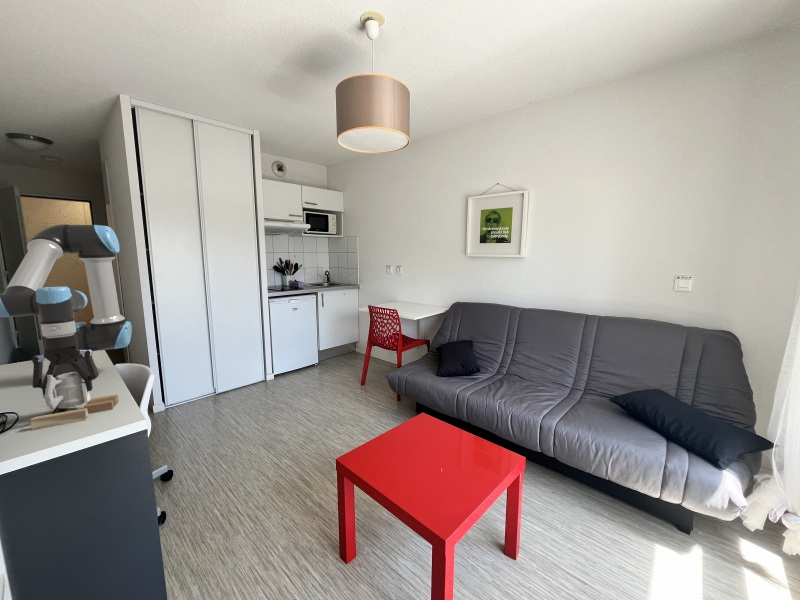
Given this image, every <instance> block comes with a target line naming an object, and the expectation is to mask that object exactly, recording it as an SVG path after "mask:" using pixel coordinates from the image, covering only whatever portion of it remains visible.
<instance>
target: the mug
mask: <svg viewBox="0 0 800 600" xmlns="http://www.w3.org/2000/svg"><path fill="white" fill-rule="evenodd" d="M47 378H48V380H47V385H46V389H45V395H44V397H43V398H44V402H45V404H46V406H47V407H48V408H49V407H50V408H49V409H51V410H55V409H56V408H58V409H68V408H72V407H73V408H74V407H78V406H82V405H83V404H86V402H84V396H83V389H82V383H83V382H84V380H83V379H82V378H81V376H80V375H79V374H78V373H77V372H71V373H65V374H61V375H59V376H57V377H55V378H54V377H53V376H52V375H47ZM53 389H54V390H55V391H56V393H55V394H56V397H55V398H54V397H53Z"/></svg>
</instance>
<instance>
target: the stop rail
mask: <svg viewBox="0 0 800 600" xmlns="http://www.w3.org/2000/svg"><path fill="white" fill-rule="evenodd" d="M88 418H89V414H88V411H87V408H84V407H83V408H80V409H73V410H68V411H63V412H62V411H61V412H55V413H51V414H47V415H46V414H45V415H40V416H35V417H32V418H31V419H30V420H29V421H30V426H31V430H38V429H42V428H48V427H55V426H60V425H64V424H65V425H66V424H70V423H71V424H72V423H76V422H80V421H86V420H87V419H88Z"/></svg>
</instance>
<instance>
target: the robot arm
mask: <svg viewBox="0 0 800 600" xmlns="http://www.w3.org/2000/svg"><path fill="white" fill-rule="evenodd" d="M26 249H27V253H26V254H25V256H24V257H23V258H22V261H21V262H20V264H19V266H18V267H17V269H16V270H15V273H14V274H13V276H12V278H11V279H10V281H9V282H8V285H7V286H6V288H5V290H4V291H3V293H0V318H15V317H16V318H17V317H25V316H26V317H29V316H38V317H39V320H40V328H41V334H42V336H43V337H44V338H43V339H42V342H43V343H42V344H43V347H44V353H43V354H37V355H35V356H33V357H31V358H30V360H31V362H32V364H33V369H32V370H33V372H32V373H33V375H32V388H33V389H41V390H42V397H43V398H44V395H45V389H46V385H47V380H48V378H47V375H52V376H53V377H54V378H55V377H57V376H59V375H61V374H65V373H71V372H77V373H78V374H79V375H80V376H81V378H82V379H83V380H84V382H83V383H82V389H83V396H84V402H85V403H88V402H89V401H90V400H91V394H90V393H91V392H92V390H93V388H94V386H93V381H94V380H96V379H97V378H98V377H99V376H100V375H99V370H98V367H97V365H96V364H95V361H94V358H93V352H99V351H107V350H117V349H123V348H126V347H128V346H129V344H130V342H131V340H132V339H131V338H132V332H133V331H132V329H133V328H132V327H133V326H132V323H131V321H127V320H126V317H125V316H123V315H122V314H121V313H120V306H119V301H118V294H117V287H116V286H117V285H116V281H115V275H114V268H113V267H114V266H113V260H114V259H116V254H119V253H120V249H121V248H120V242H119V240H118V237H117V234H116V233H115V231H114V230H113V228H112V227H110V226H107V225H101V224H100V225H99V224H55V225H53V226H49V227H46V228H44V229H42V230H40V231H39V232H37V233H36V234H34V235H33V236H32V237H31V239H29V241H28V243H27V244H26ZM67 254H77V257H78V259H79V260H81V262H83V264H84V266H85V267H84V268H85V273H86V279H87V285H88V290H89V297H90V303H91V307H92V312H93V318H92V319H91V320H90V321H89V324H87V323H86V321H80V322H76V319H75V313H76V312H79V311H81V310H83V309H84V308H86V306H87V304H88V300H89V299H88V297H87V296H86V294H85V293H83V292H82V291H79V290H76V289H75V290H74V289H70V288H69V287H68V286H64V285H63V286H46V287H44V285H45V283H46V281H47V279H48V277H49V275H50V273H51V271H52V269H53V266H54V265H55V263H56V260H59V259H60V258H62V256H63V255H67ZM45 359H46V360H47V361H49V365H48V368H47V371H46V373H45V375H44V379H43V370H44V369H43V365H44V362H43V361H45ZM53 397H54V398H56V393H55V388H54V389H53ZM48 408H49V409H51V408H50V407H49V406H48Z"/></svg>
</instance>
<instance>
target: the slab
mask: <svg viewBox="0 0 800 600" xmlns="http://www.w3.org/2000/svg"><path fill="white" fill-rule="evenodd" d="M118 403H119V394H112V395H106V396H100V397H93V398H90V400H89V401H88V402H86V403H85V404H84V406H83V409H84V408H87V411H88V415H89V414H94V413H100V412H106V411H112V410H114V408H115V407H116V405H117V404H118Z"/></svg>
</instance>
